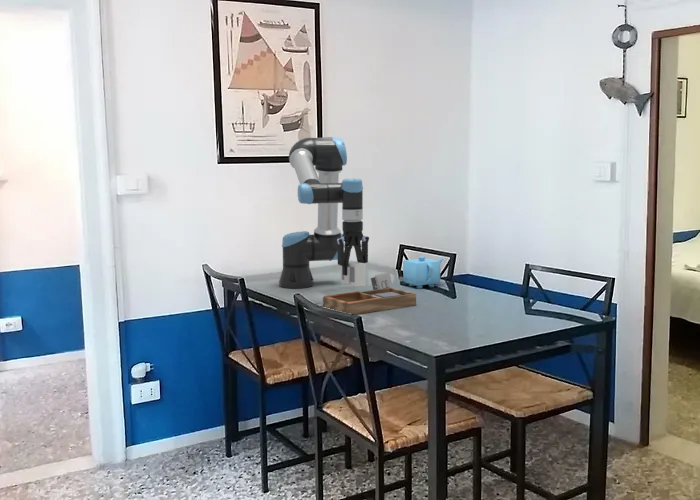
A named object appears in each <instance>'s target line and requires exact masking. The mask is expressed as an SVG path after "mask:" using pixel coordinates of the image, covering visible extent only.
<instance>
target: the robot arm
mask: <svg viewBox="0 0 700 500" xmlns="http://www.w3.org/2000/svg"><path fill="white" fill-rule="evenodd" d="M288 161H289V164H290V166H291V167H292V168H293V169H294V171H295V175H296V176H297V179H298V183H299V184H298V185H297V199H298V203H300V204H307V205H312V204H314V205H316V204H317V226H316V228H315V229H314V230H313V234H310V232H309V231H308V230H305V231H304V230H302V231H294V232H291V233H290V232H289V233H287V234H284V236H283V237H282V240H281V241H282V245H281V247H282V270H281V273H280V274H281V275H280V277H279V280H278V286H279V287H281V288H284V289H285V288H286V289H307V288H311V287H313V286H314V285H315V283H314V277H313V273H312V271H311V268H310V262H321V261H322V262H324V261H337V265H338V266H340V267H341V266H342V267H343V275H344V285H348V284H350V267H348V263H349V261H350V257H351V251H352V249H353V248H354V252H355V257H356V262H360V263H365V264H368V263H369V240H370V237H369V236H366V235H364V233H363V229H364V228H363V226H364V222H363V221H362V220H363V217H364V214H363V213H364V210H363V208H364V207H363V193H364V192H363V190H364V186H363V180H362V179H361V178H354V177H353V178H344V179H342V182H339V179H340V178H339V176H340V175H339V174H340V173H341V172H342V171H343V166H344V167H345V166H346V165H347V163H348V162H347V161H348V154H347V149H346V144H345V142H344V139H342V138H341V137H331V136H329V137H306V138H302V139H300V140H298V141H296V142H295V143H294V144H293V146H291V148H290V150H289V153H288ZM339 204H342V206H341V208H342V209H341V211H342V212H341V214H342V215H341V219H342V220H343V221H342V226H341V227H342V233H341V229H340V228H339V227H338V216H339V215H338V214H339V213H338V209H339Z"/></svg>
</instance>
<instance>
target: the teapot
mask: <svg viewBox="0 0 700 500" xmlns="http://www.w3.org/2000/svg"><path fill="white" fill-rule="evenodd" d="M417 258H418V259H406V260H402V263H403V272H402V273H403V274H402V275H403V276H402V277H403V279H402V280H403V281H402V282H403V283H406V284H408V286H409V287H415V286H416V289H423V286H426V285H428V287H429V288H435V287H434V286H435V284H441V264H442V262H443V260H445V257H443V258H442V257H441V258H439V259H437V260H436V259H431V258H426V257H425V256H422V255H421V256H418V257H417Z"/></svg>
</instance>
